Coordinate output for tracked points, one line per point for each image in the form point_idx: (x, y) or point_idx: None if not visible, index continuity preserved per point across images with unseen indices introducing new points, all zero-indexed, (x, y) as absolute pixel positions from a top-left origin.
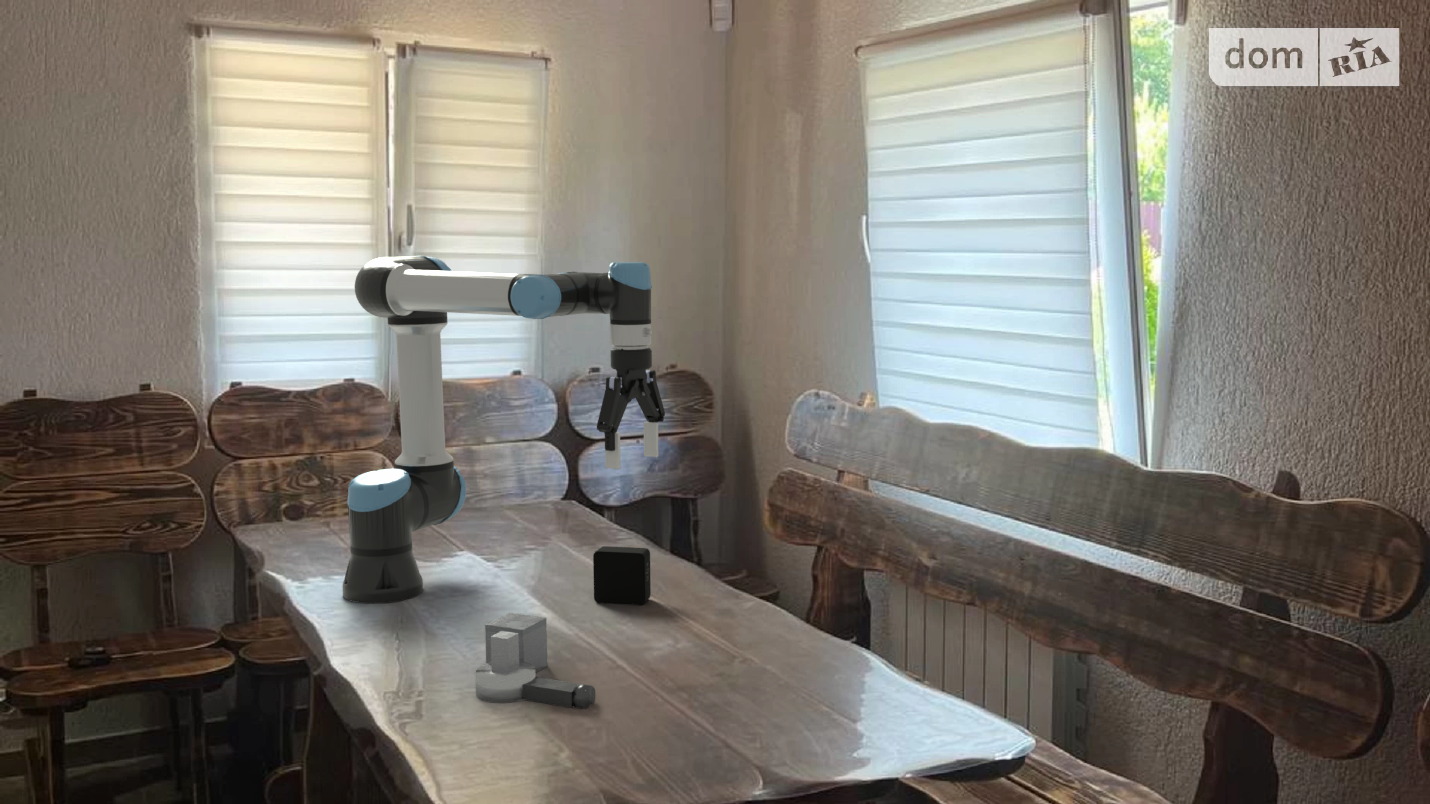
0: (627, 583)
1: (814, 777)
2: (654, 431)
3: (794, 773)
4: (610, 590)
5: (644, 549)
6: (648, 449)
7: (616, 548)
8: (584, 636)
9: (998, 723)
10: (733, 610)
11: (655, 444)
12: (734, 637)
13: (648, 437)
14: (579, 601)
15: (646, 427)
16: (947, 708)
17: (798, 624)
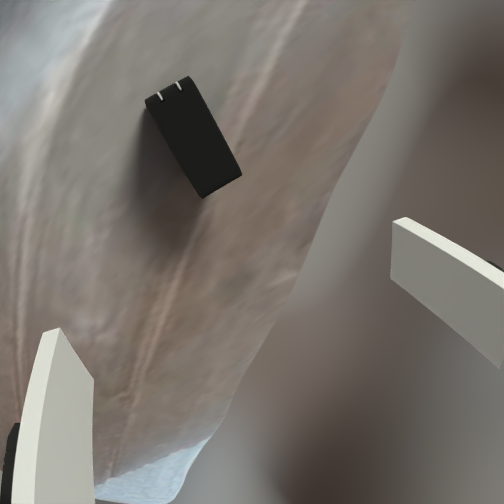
0: (176, 158)
1: None
2: (471, 334)
3: None
4: (159, 129)
5: (229, 175)
6: (414, 256)
7: (196, 121)
8: (27, 234)
9: (173, 496)
10: (250, 284)
11: (426, 303)
12: (168, 354)
13: (456, 285)
14: (135, 79)
15: (497, 304)
16: (170, 484)
17: (251, 360)
